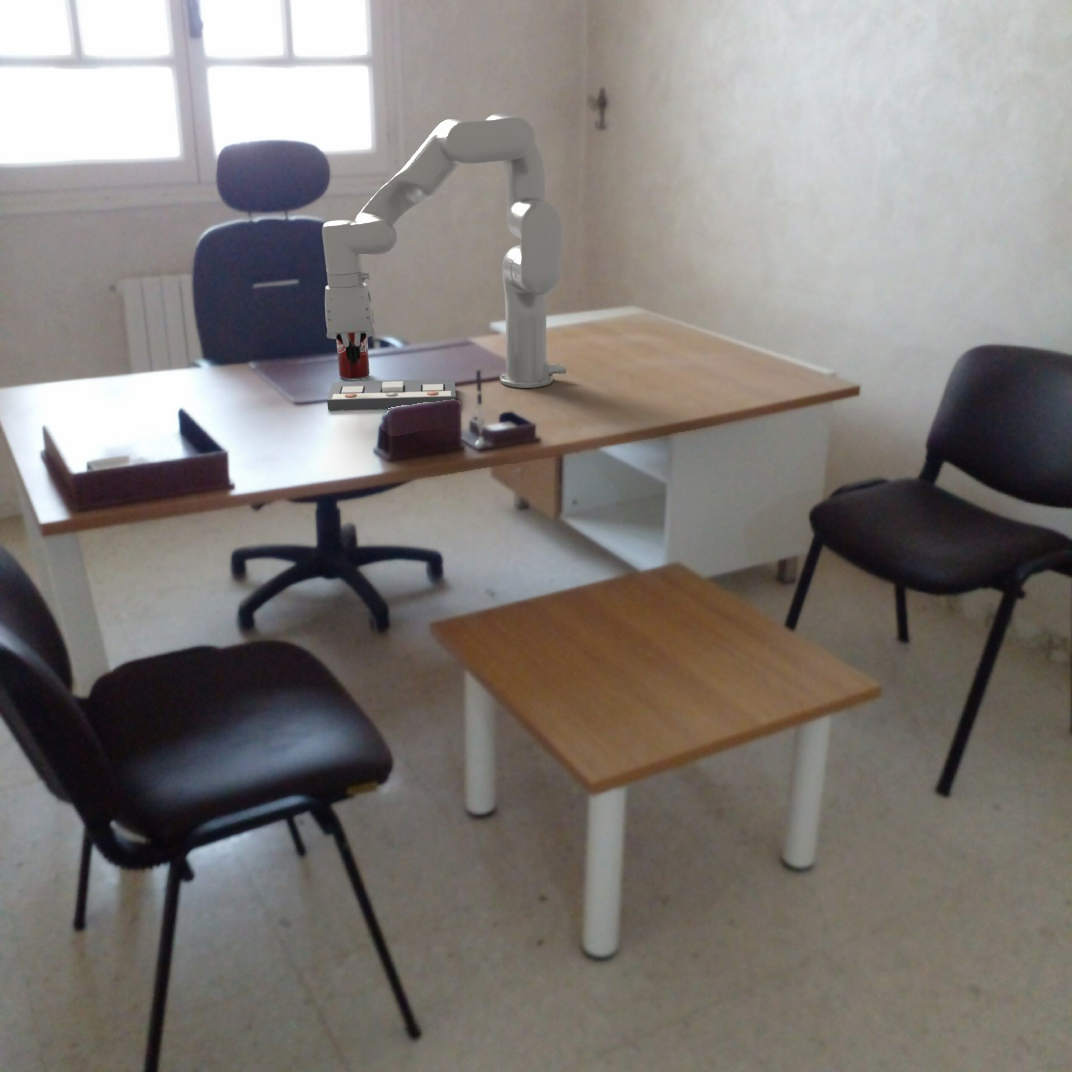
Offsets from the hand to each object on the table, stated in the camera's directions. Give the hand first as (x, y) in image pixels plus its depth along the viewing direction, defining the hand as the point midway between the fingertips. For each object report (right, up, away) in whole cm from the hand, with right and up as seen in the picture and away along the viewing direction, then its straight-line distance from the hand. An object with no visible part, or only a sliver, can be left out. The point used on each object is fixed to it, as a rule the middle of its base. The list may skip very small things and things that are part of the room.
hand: (354, 362), depth 251 cm
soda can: (-3, 0, +21) cm, 22 cm away
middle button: (+8, -6, +3) cm, 10 cm away
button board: (+8, -8, +4) cm, 12 cm away
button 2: (+17, -6, +4) cm, 19 cm away
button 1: (-1, -7, +3) cm, 7 cm away
